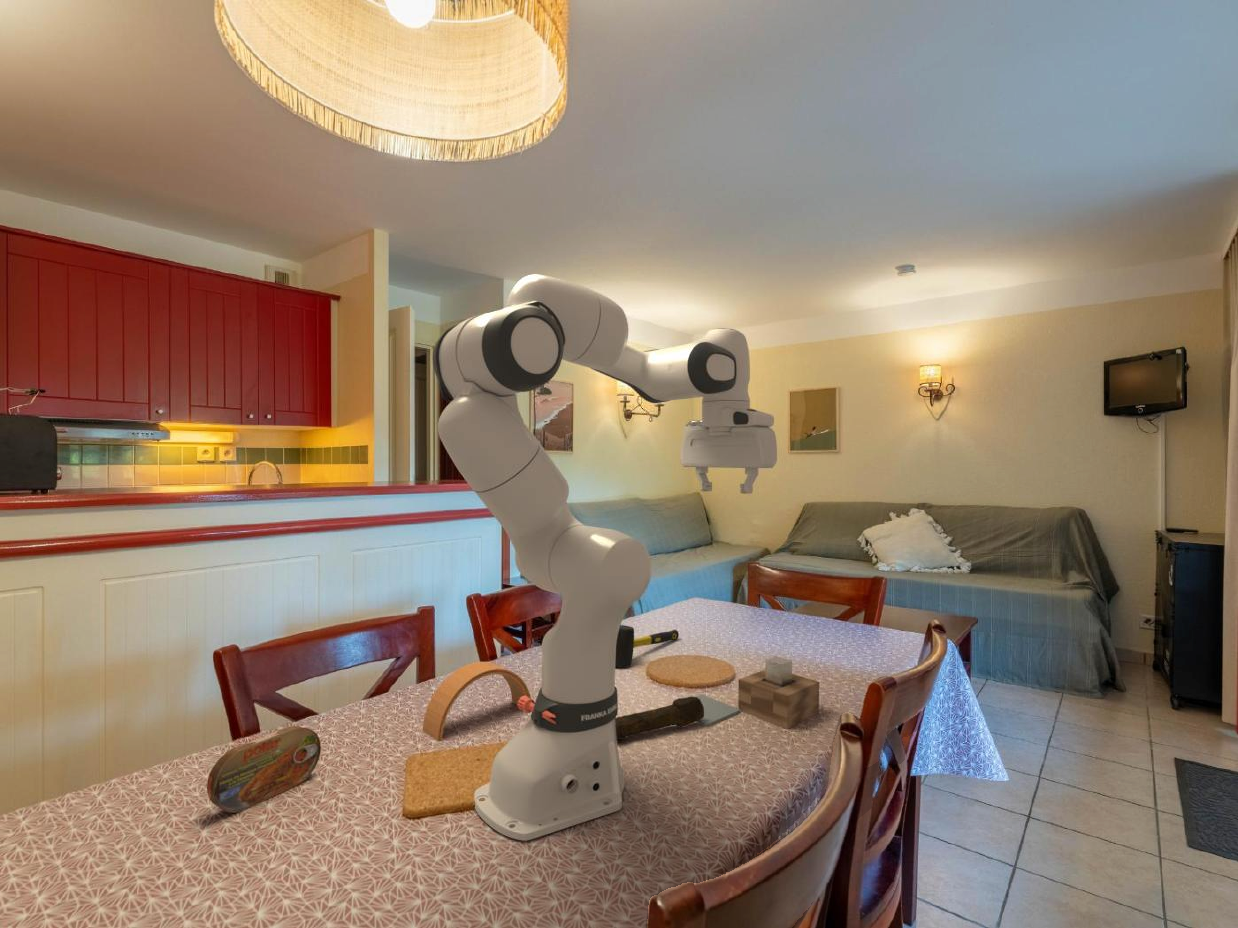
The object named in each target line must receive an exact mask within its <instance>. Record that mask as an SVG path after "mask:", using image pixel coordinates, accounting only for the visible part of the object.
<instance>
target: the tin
mask: <svg viewBox="0 0 1238 928" xmlns="http://www.w3.org/2000/svg"><path fill="white" fill-rule="evenodd" d="M321 745H322V744H321V741H320V738H319V735H318V733H316V731H314V730H312V729H311V728H308V727H302V726H297V725H296V726H295V725H294V726H293V725H292V726H287V727H284V728H282V729H279V730H276V731H274V732H271V733H269V734H266V735H264V736H262V737H259V738H255V739H254V740H250V741H248V742H245V743H243V744H240V745H238V746H236V747H233V748H231V749H229V750H228V751H226V752H225V753H224V754H223V755H221V756H220V758H219V759H218V760H217V761H216V762H214V765H213V766H212V767H211V770H210V772H209V775H208V777H207V778H208V779H207V784H206V792H207V796H208V798H209V800H210V802H211V803H212V804H214V805H215V806H216V807H218V808H219V809H220V810H222V811H223V812H226V813H234V814H235V813H240V812H244V811H247V810H249V809H251V808H253V807H254V805H255V806H257V805H259V804H261V803H263V802H265V801H268V800H269V798H270V799H271V798H274V797H276V796H278V795H280V794H282V793H284V792H287V791H289V790H291V789H293V788H295V787H297V786H298V785H301V784H302V783H304V781H305V780H307V779H308V778H309V777H310V775H311V774H312V773H313V772H314V770H315V769H316V767H317V765H318V762H319V759H320V756H321V751H322V750H321V749H322V746H321ZM258 803H259V804H258ZM256 804H257V805H256ZM252 806H253V807H252ZM248 808H249V809H248Z"/></svg>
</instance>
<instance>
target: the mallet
mask: <svg viewBox="0 0 1238 928" xmlns="http://www.w3.org/2000/svg"><path fill="white" fill-rule="evenodd" d="M678 639H679V631H678V630H677V629H673V630H671V631H664V632H663V631H662V632H658V633H657V632H656V633H652V634H650V635H647V636H642V637H639V638H638V637H637V638H635V629H634V627H632V626H630V625H624V624H621V625H620V628H619V632H618V636H617V642H616V660H615V668H616V667H617V668H629V667H630V668H631V666H632V661H633V657H634V656H633V655H634V649H635V648H638V647H643V646H649V645H651V646H652V645H658V644H662V643H667V642H670V641H677V640H678Z"/></svg>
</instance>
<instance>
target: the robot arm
mask: <svg viewBox="0 0 1238 928" xmlns="http://www.w3.org/2000/svg"><path fill="white" fill-rule="evenodd" d="M705 333H706V334H705V335H704V336H703V337H701V338H700V339H697V340H694V341H691V342H690V343H685V344H684V343H683V344H681V345H674V346H671V347H665V348H659V349H658V348H657V349H655V348H654V349H649V350H644V351H639V350H637V349H635V348H634V347H631V346H629V345H627V344H628V340H629V339H628V338H629V323H628V318H627V316H626V313H625V311H624V309H623V308H622V307H621V306H620V305H619V304H618V303H617V302H616V301H614V300H612V299H611V298H610V297H607V296H606V295H604V294H602V293H600V292H597V291H594V290H593V289H590V288H589V287H585V286H583V285H580V284H577V283H575V282H572V281H569V280H567V279H563V278H558V277H553V276H549V275H544V274H529V275H526V276H524V277H522V278H521V279H520V280H518V282H517V283H515V285H514V286H513V288H512V289H511V290H510V293H509V294H508V297H507V301H506V305H505V307H504V308H502V309H498V310H495V311H491V312H484V313H479V314H476V315H474V316H472V317H469V318H467V319H466V320H464V321H462V322H459V323H455V324H454V325H452V326H450V327H449V328H447V330H445V331H444V332H442V334H441V335H440V336H439V338H438V339H437V340H436V342H435V345H434V347H433V349H432V350H433V351H432V365H433V366H432V367H433V370H434V373H435V376H436V379H437V381H438V383H439V389H440V393H441V397H442V398H443V400H444V401H445V402H447V403H448V405H447V406H445V408H444V409H443V411H442V412H441V414H440V416H439V419H438V423H437V432H438V433H437V434H438V436H439V439H440V441H441V443H442V445H443V447H444V448H445V450H446V452H447V454H448V455H449V457H450V459H451V461H452V462H453V464H454V466H455V467H456V469H457V470H458V472H459V473H460V474H461V476H462V477H463V478H464V480H465V481H466V483H467V484H468V485H469V487H470V488H471V490H473V492H474V493H475V494H476V496H477V497H478V498H479V500H481V502H482V503H483V505H485V507H486V508H487V509H488V511H489V512H490V513H491V514H492V515H493V516H494V518H495V519H496V520H497V522H498V523H499V524H500V526H501V527H502V529H503V530H504V531H505V533H506V535H507V537H508V538H509V540H510V542H511V545H512V546H513V549H514V560H515V565H516V568H517V570H518V571H519V573H520V575H521V576H522V577H523V578H525V579H526V580H527V581H528V582H530V583H531V584H532V585H534V586H536V587H537V588H538V589H540V590H543V591H545V592H550V593H551V594H552V593H553V594H556V595H559V596H561V602H562V603H561V609H560V612H559V616H558V620H557V622H556V624H555V626H553V627H552V628H550V629H549V630H548V631H547V632H546V633H545V634H544V636H543V639H542V642H541V688H540V689H539V691H538V693H537V696H536V698H535V700H534V699H532V698H531V699H530V698H529V697H527V696H522V697H520V700H519V701H518V702H519V703H518V704H516V705H517V708H518V709H519V710H521V711H524V713H526V714H530V713H531V714H530V719H529V720H528V721H527V722H526V723H525V724H524V725H523V726H522V727H521V728H520V729H519V731H518V732H517V733H515V735H514V736H513V737H512V738H511V739H510V740H509V741H508V742H507V743H506V744H505V745H504V746H503V747H502V749H500V750H499V751H498V753H496V755H495V757H494V760H493V763H492V766H491V773H490V778H489V782H487V783H485V784H483V785H482V786H480V787H478V788H476V790H475V791H474V794H473V802H474V801H475V807H474V809H475V812H476V813H477V814H478V816H479V817H480V818H481V819H482V820H483V821H484V822H485V823H486V824H487V825H488V826H489V827H491V828H492V829H493V830H494V831H496V832H498V833H500V834H501V835H503V836H506V837H508V838H510V839H514V840H518V841H526V842H527V841H531V840H534V839H536V838H540V837H543V836H546V835H548V834H549V835H550V834H551V833H555V832H558V831H560V830H564V829H566V828H567V829H568V828H569V827H574V826H576V825H579V824H582V823H585V822H587V821H591V820H594V819H597V818H599V817H600V818H601V817H603V816H606V815H609V814H612V813H616V812H618V811H620V810H621V809H622V808H623V798H622V793H623V792H624V789H625V786H626V779H625V776H624V773H623V769H622V765H621V759H620V754H619V753H620V752H619V748H618V747H619V746H618V741H617V737H616V723H615V718H617V717H618V713H619V711H618V709H619V703H618V701H619V699H618V698H619V696H618V688H617V687H616V686H615V685H616V667H615V660H616V642H617V636H618V632H619V628H620V625H622V622H623V619H624V618H625V615H626V613H627V612H628V610H629V608H630V607H631V606H632V605H633V604H635V603H636V602H637V601H638V600H640V599H641V598H642V597H643V595H644V594H645V592H646V590H647V589H648V586H649V584H650V581H651V578H652V577H651V576H652V561H651V556H650V554H649V551H648V549H647V547H646V546H645V545H644V544H643V543H642V542H641V541H640V540H638V539H636V538H635V537H632V536H631V535H629V534H626V533H623V532H622V531H619V530H617V529H612V528H604V527H599V526H589V525H587V524H584V523H582V522H581V521H579V520H578V519H577V518H576V517H574V515H573V514H572V513H571V509H570V508H569V505H568V503H567V501H568V498H569V494H570V488H569V487H570V486H569V484H568V480H567V479H566V478H565V476H564V475H563V473H562V472H561V471H560V469H559V468H558V467H557V465H556V464H555V462H554V461H553V459H552V458H551V457H550V455H549V454H548V452H547V451H546V450H545V448H544V447H543V445H542V444H541V442H540V441H539V440H538V438H536V436H535V435H534V433H533V431H531V429H530V428H529V427H528V426H527V425H526V424H525V422H524V419H523V417H522V414H521V412H520V410H519V406H518V400H517V399H518V398H517V395H518V394H519V393H525V392H531V391H534V390H536V389H538V388H540V387H542V386H545V384H548V383H549V381H551V380H552V379H553V378H554V377H555V375H556V374H557V372H559V371H558V370H559V369H560V367H561V364H562V361H563V360H564V361H565V362H569V363H572V364H575V365H578V366H582V367H585V368H588V369H591V370H593V371H595V372H597V373H600V374H602V375H605V376H607V377H609V378H612V380H613V379H614V380H616V381H619V382H621V383H623V384H625V385H627V386H628V387H630V388H631V389H632V390H634V391H635V393H636V394H637V395H638V396H640V397H641V398H642V399H643V400H644V401H646V402H648V403H651V404H661V403H667V402H669V401H677V400H687V399H688V400H689V399H694V398H696V399H697V398H702V399H701V419H698V420H696V419H695V420H694V419H692V420H689V422H687V423H686V424H685V426H684V427H683V436H682V439H681V448H680V462H681V464H682V467H684V468H695V474H696V477H697V479H698V481H699V483H700V486H699V487H700V491H701V492H712V491H713V481H709V478H708V476H707V474H708V473H709V468H722V469H724V468H725V469H726V468H727V469H728V468H729V469H733V468H734V469H744V474H745V475H746V478H745V480H744V482H743V483H740V485H739V486H740V494H745V495H750V494H753V490H754V489H753V487H754V486H753V484H754V483H755V482H756V479H758V476H759V469H773V468H774V467H775V465H776V464H777V461H778V446H777V445H778V444H777V436H776V432H775V431H774V429H773V428H772V427H773V426H774V424H775V417H774V415H773V414H770V413H766V412H763V411H760V410H756V409H753V408H751V399H750V396H749V384H750V380H751V366H750V365H751V362H750V361H751V360H750V352H749V345H748V340H747V338H746V336H745V334H744V333H742V332H741V331H739V330H737V329H733V328H726V327H717V328H712V329H709V330H708V331H707V332H705ZM448 398H450V399H451V400H450V399H448ZM481 799H484V801H479V800H481Z"/></svg>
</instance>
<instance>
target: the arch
mask: <svg viewBox="0 0 1238 928" xmlns="http://www.w3.org/2000/svg"><path fill="white" fill-rule="evenodd" d="M490 675H491V676H492V675H493V676H494V675H501V676H502V677H503V678H504V679H505V680H506V683H507V684H508V687H509V689H510V690H509V691H510V694H511V702H512V703H513V704H515V705H517V704H518V703H519V702H518V701H519V700H520V697H522V696H527V697H529V698H530V699H532V698H531V694H530V691H529V688H528V686H527V685H526V682H525V681H524V680H523V678H521V677H520V676H519V675H518V674H516V673H515V672H513V671H512V670H509V669H507V668H504V667H502V666H501V665H497V664H496V663H493V662H490V661H477V662H476V661H475V662H472V663H469V664H465V665H463V666H461V667H459V668H457V669H456V670H454V671H453V672H452V673H451V674H450V675H448V676H447V677H446V678H445V679H444V680H443V681H442V682H441V683H440V685H439V686H438V687H437V689H436V690H435V692H434V693H433V695H432V697H431V698H430V701H429V702H428V705H427V707H426V709H425V713H424V716H423V723H422V732H424V733H426V734H427V735H428V736H431V737H432V738H433V739H434V740H435V741H437V742H439V740H442V739H443V734H444V728H445V723H446V720H447V718H448V715H449V713H450V710H451V708H452V707H453V705H454V704H455V701H456V700H457V698H459V696H460V695H461V693H462V692H463V691H465V690H466V689H467V688H468V687H469V686H470V685H471V684H473V683H474V682H476V681H478V680H480V679H482V678H484V677H487V676H490Z"/></svg>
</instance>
